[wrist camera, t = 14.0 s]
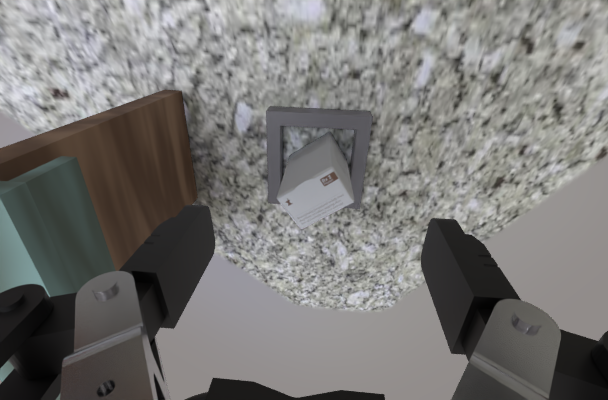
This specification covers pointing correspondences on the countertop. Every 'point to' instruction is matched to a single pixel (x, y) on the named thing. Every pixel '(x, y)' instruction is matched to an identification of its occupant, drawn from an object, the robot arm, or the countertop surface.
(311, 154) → the skincare box
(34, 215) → the awning stand
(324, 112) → the socket
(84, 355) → the robot arm
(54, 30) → the countertop surface
